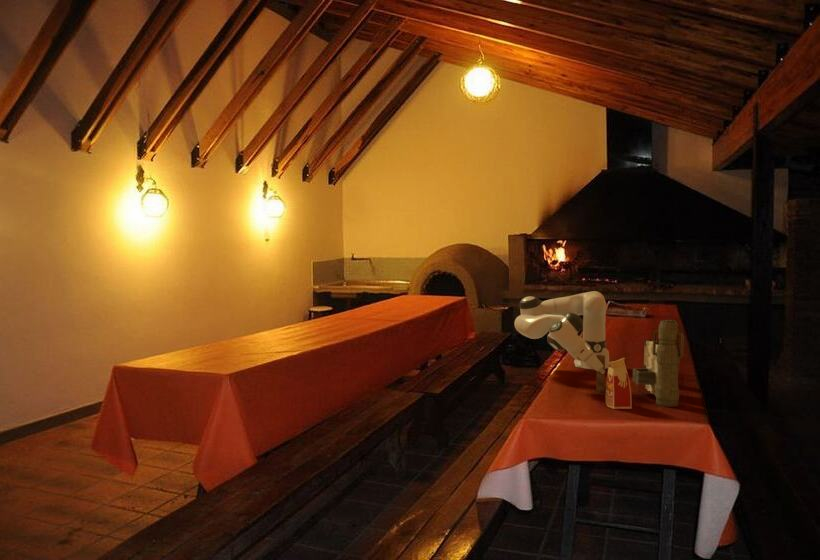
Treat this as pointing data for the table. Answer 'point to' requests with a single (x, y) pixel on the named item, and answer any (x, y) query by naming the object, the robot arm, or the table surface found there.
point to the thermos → (668, 362)
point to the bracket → (648, 370)
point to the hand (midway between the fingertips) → (602, 371)
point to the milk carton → (618, 386)
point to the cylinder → (600, 376)
